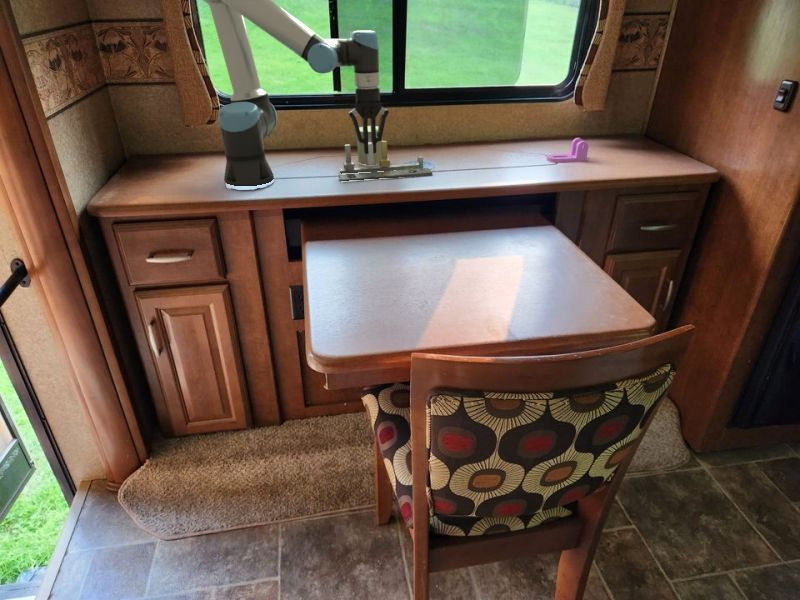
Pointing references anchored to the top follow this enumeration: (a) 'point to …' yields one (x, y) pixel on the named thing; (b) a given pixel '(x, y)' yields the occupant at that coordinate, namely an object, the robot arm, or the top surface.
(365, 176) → the hole plate
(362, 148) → the can
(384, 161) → the slider
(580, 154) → the bracket
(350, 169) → the rail
